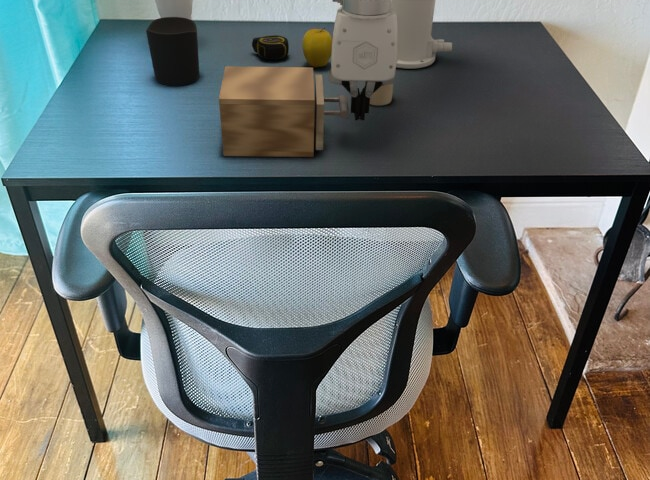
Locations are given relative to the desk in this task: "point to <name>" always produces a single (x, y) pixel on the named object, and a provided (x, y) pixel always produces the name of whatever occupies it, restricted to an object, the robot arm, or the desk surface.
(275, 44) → the tape measure
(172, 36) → the pen holder
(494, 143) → the desk surface
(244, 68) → the cabinet
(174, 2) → the cup
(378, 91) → the candle
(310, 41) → the apple
